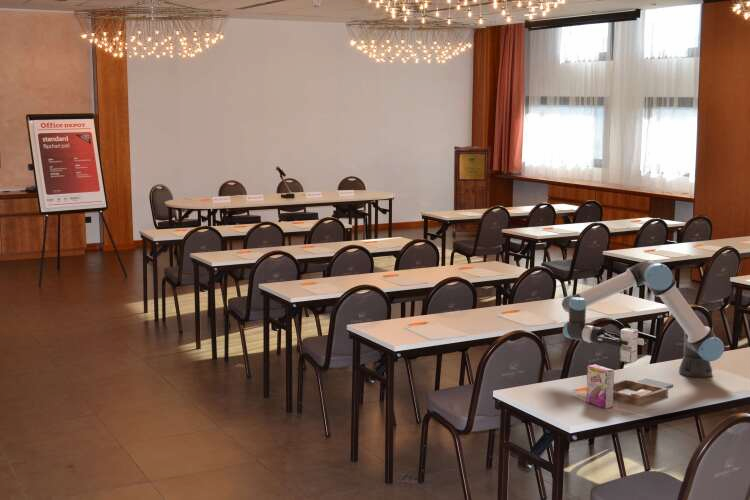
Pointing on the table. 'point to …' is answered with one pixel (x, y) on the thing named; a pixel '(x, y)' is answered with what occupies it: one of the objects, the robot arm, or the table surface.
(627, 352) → the syrup box
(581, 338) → the robot arm
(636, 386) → the walnut frame
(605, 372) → the candy bar box
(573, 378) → the table surface
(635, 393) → the top offcut
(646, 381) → the grey mat
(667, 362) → the table surface
